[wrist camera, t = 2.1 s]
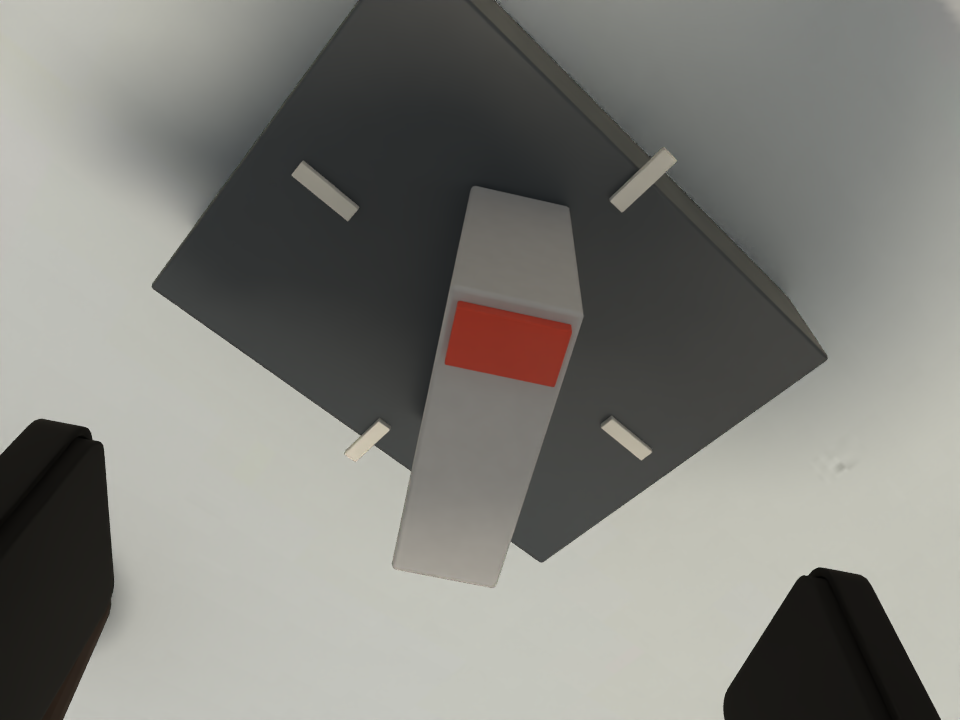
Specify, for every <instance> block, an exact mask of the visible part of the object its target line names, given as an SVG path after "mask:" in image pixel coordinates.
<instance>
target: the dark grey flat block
mask: <svg viewBox="0 0 960 720" xmlns="http://www.w3.org/2000/svg"><path fill="white" fill-rule="evenodd" d="M676 162H677V160H676V158H675V157H674V156H673V155H672V154H671V153H670V152H669V151H668V150H667V149H666V148H665V147H663V148H662V149H661V150H659V151H658V152H657V153H656V154H655V155H654V156H653V157H652V158H650V157H649V156H648V155H647V154H646V153H645V152H644V151H643V150H642V149H641V148H640V147H639V146H638V145H637V144H636V143H635V142H634V141H633V140H632V139H631V138H630V137H629V136H628V135H627V134H626V133H625V132H624V131H623V130H622V129H621V128H620V127H619V126H618V125H617V124H616V123H615V122H614V121H613V120H612V119H611V118H610V117H609V116H608V115H607V114H606V113H605V112H604V111H603V110H602V109H601V108H600V107H599V106H598V105H597V104H596V103H595V102H594V101H593V100H592V99H591V98H590V97H589V96H588V95H587V94H586V93H585V92H584V91H583V89H582V88H581V87H580V86H579V85H578V84H577V83H576V82H575V81H574V80H573V79H572V78H571V77H570V76H569V75H568V74H567V73H566V72H565V71H564V70H563V69H562V68H561V67H560V66H559V65H558V64H557V63H556V62H555V61H554V60H553V59H552V58H551V57H550V56H549V55H548V54H547V53H546V52H545V51H544V50H543V49H542V48H541V47H540V46H539V45H538V44H537V43H536V42H535V41H534V40H533V39H532V38H531V37H530V36H529V35H528V34H527V33H526V32H525V31H524V30H523V29H522V28H521V27H520V26H519V25H518V24H517V23H516V22H515V21H514V20H513V19H512V18H511V17H510V16H509V15H508V14H507V13H506V12H505V11H504V10H503V9H502V8H501V7H500V6H499V5H498V4H497V3H496V2H495V1H494V0H359V1H358V2H357V3H356V5H355V6H354V8H353V9H352V10H351V12H350V13H349V14H348V16H347V17H346V18H345V20H344V21H343V23H342V24H341V25H340V27H339V28H338V29H337V31H336V32H335V34H334V35H333V36H332V38H331V39H330V40H329V42H328V43H327V45H326V46H325V47H324V49H323V50H322V51H321V53H320V54H319V56H318V57H317V58H316V60H315V61H314V62H313V64H312V65H311V67H310V68H309V69H308V71H307V72H306V73H305V75H304V76H303V78H302V79H301V80H300V82H299V83H298V84H297V86H296V87H295V88H294V90H293V91H292V93H291V94H290V95H289V97H288V98H287V99H286V101H285V102H284V104H283V105H282V106H281V108H280V109H279V110H278V112H277V113H276V115H275V116H274V117H273V119H272V120H271V121H270V123H269V124H268V126H267V127H266V128H265V130H264V131H263V132H262V134H261V135H260V137H259V138H258V139H257V141H256V142H255V143H254V145H253V146H252V148H251V149H250V150H249V152H248V153H247V154H246V156H245V157H244V158H243V160H242V161H241V163H240V164H239V165H238V167H237V168H236V169H235V171H234V172H233V174H232V175H231V176H230V178H229V179H228V180H227V182H226V183H225V185H224V186H223V187H222V189H221V190H220V191H219V193H218V194H217V196H216V197H215V198H214V200H213V201H212V202H211V204H210V205H209V207H208V208H207V209H206V211H205V212H204V213H203V215H202V216H201V218H200V219H199V220H198V222H197V223H196V224H195V226H194V227H193V228H192V230H191V231H190V233H189V234H188V235H187V237H186V238H185V239H184V241H183V242H182V244H181V245H180V246H179V248H178V249H177V250H176V252H175V253H174V255H173V256H172V257H171V259H170V260H169V261H168V263H167V264H166V266H165V267H164V268H163V270H162V271H161V272H160V274H159V275H158V277H157V278H156V279H155V281H154V282H153V283H152V288H153V289H154V290H155V291H157V292H158V293H160V294H161V295H163V296H164V297H165V298H167V299H168V300H170V301H171V302H172V303H174V304H175V305H177V306H178V307H180V308H181V309H182V310H184V311H185V312H187V313H188V314H189V315H191V316H192V317H194V318H195V319H196V320H198V321H199V322H201V323H202V324H204V325H205V326H206V327H208V328H209V329H211V330H212V331H213V332H215V333H216V334H218V335H219V336H221V337H222V338H223V339H225V340H226V341H228V342H229V343H230V344H232V345H233V346H235V347H236V348H238V349H239V350H240V351H242V352H243V353H245V354H246V355H247V356H249V357H250V358H252V359H253V360H255V361H256V362H257V363H259V364H260V365H262V366H263V367H264V368H266V369H267V370H269V371H270V372H272V373H273V374H274V375H276V376H277V377H279V378H280V379H281V380H283V381H284V382H286V383H287V384H288V385H290V386H291V387H293V388H294V389H296V390H297V391H298V392H300V393H301V394H303V395H304V396H305V397H307V398H308V399H310V400H311V401H313V402H314V403H315V404H317V405H318V406H320V407H321V408H322V409H324V410H325V411H327V412H328V413H330V414H331V415H332V416H334V417H335V418H337V419H338V420H339V421H341V422H342V423H344V424H345V425H347V426H348V427H349V428H351V429H352V430H354V431H355V432H356V433H358V434H359V435H361V436H360V437H359V438H358V439H357V440H356V441H355V442H354V443H353V444H352V445H351V446H350V447H349V448H348V449H346V450H345V453H344V455H346V456H347V457H349V458H350V459H352V460H353V461H354V462H356V461H357V460H358V459H359V458H360V457H362V456H363V455H364V454H365V453H366V452H367V451H368V450H369V449H370V448H371V447H372V446H373V445H375V446H376V447H378V448H379V449H380V450H382V451H383V452H385V453H386V454H388V455H389V456H390V457H392V458H393V459H395V460H396V461H397V462H399V463H400V464H402V465H403V466H405V467H406V468H407V469H409V470H410V471H412V466H413V461H414V456H415V451H416V447H417V442H418V437H419V432H420V428H421V423H422V418H423V413H424V409H425V404H426V399H427V394H428V390H429V385H430V380H431V375H432V370H433V366H434V361H435V356H436V351H437V347H438V342H439V337H440V332H441V328H442V323H443V318H444V313H445V309H446V304H447V299H448V294H449V290H450V285H451V280H452V275H453V271H454V266H455V261H456V256H457V252H458V247H459V242H460V237H461V233H462V228H463V223H464V218H465V214H466V209H467V204H468V200H469V195H470V190H471V188H472V187H473V186H478V187H483V188H487V189H492V190H496V191H501V192H505V193H510V194H514V195H518V196H523V197H527V198H532V199H536V200H541V201H545V202H550V203H554V204H558V205H563V206H567V207H568V208H569V210H570V218H571V225H572V233H573V240H574V248H575V255H576V263H577V270H578V278H579V285H580V293H581V300H582V308H583V315H584V317H583V320H582V323H581V326H580V330H579V333H578V336H577V339H576V342H575V345H574V348H573V351H572V354H571V357H570V360H569V363H568V366H567V370H566V373H565V376H564V379H563V382H562V385H561V388H560V391H559V394H558V397H557V400H556V403H555V407H554V410H553V413H552V416H551V419H550V422H549V425H548V428H547V431H546V434H545V437H544V440H543V443H542V447H541V450H540V453H539V456H538V459H537V462H536V465H535V468H534V471H533V474H532V477H531V480H530V484H529V487H528V490H527V493H526V496H525V499H524V502H523V505H522V508H521V511H520V514H519V517H518V521H517V524H516V527H515V530H514V533H513V536H512V539H511V542H512V543H514V544H515V545H516V546H518V547H519V548H521V549H522V550H523V551H525V552H526V553H528V554H529V555H531V556H532V557H533V558H535V559H536V560H538V561H539V562H541V563H542V562H544V561H545V560H547V559H548V558H550V557H551V556H552V555H554V554H555V553H557V552H558V551H559V550H561V549H562V548H564V547H565V546H566V545H568V544H569V543H571V542H572V541H573V540H575V539H576V538H578V537H579V536H580V535H582V534H583V533H585V532H586V531H587V530H589V529H590V528H592V527H593V526H594V525H596V524H597V523H599V522H600V521H602V520H603V519H604V518H606V517H607V516H609V515H610V514H611V513H613V512H614V511H616V510H617V509H618V508H620V507H621V506H623V505H624V504H625V503H627V502H628V501H630V500H631V499H632V498H634V497H635V496H637V495H638V494H639V493H641V492H642V491H644V490H645V489H646V488H648V487H649V486H651V485H652V484H654V483H655V482H656V481H658V480H659V479H661V478H662V477H663V476H665V475H666V474H668V473H669V472H670V471H672V470H673V469H675V468H676V467H677V466H679V465H680V464H682V463H683V462H684V461H686V460H687V459H689V458H690V457H691V456H693V455H694V454H696V453H697V452H698V451H700V450H701V449H703V448H704V447H705V446H707V445H708V444H710V443H711V442H713V441H714V440H715V439H717V438H718V437H720V436H721V435H722V434H724V433H725V432H727V431H728V430H729V429H731V428H732V427H734V426H735V425H736V424H738V423H739V422H741V421H742V420H743V419H745V418H746V417H748V416H749V415H750V414H752V413H753V412H755V411H756V410H757V409H759V408H760V407H762V406H763V405H765V404H766V403H767V402H769V401H770V400H772V399H773V398H774V397H776V396H777V395H779V394H780V393H781V392H783V391H784V390H786V389H787V388H788V387H790V386H791V385H793V384H794V383H795V382H797V381H798V380H800V379H801V378H802V377H804V376H805V375H807V374H808V373H809V372H811V371H812V370H814V369H815V368H816V367H818V366H819V365H821V364H822V363H824V362H825V361H826V360H827V359H828V357H827V354H826V353H825V352H824V350H823V349H822V347H821V346H820V344H819V343H818V341H817V340H816V338H815V337H814V335H813V334H812V332H811V331H810V329H809V328H808V326H807V325H806V323H805V322H804V320H803V319H802V317H801V316H800V314H799V313H798V311H797V310H796V308H795V307H794V305H793V304H792V302H791V301H790V299H789V298H788V297H787V296H786V295H785V294H784V293H783V292H782V290H781V289H780V288H779V287H778V286H777V285H776V284H775V283H774V282H773V281H772V280H771V279H770V278H769V277H768V276H767V275H766V274H765V273H764V272H763V271H762V270H761V269H760V268H759V267H758V266H757V265H756V264H755V263H754V262H753V261H752V260H751V259H750V258H749V257H748V256H747V255H746V254H745V253H744V252H743V251H742V250H741V249H740V248H739V247H738V246H737V245H736V244H735V243H734V242H733V241H732V240H731V239H730V238H729V237H728V236H727V235H726V234H725V233H724V232H723V231H722V230H721V229H720V228H719V227H718V226H717V225H716V224H715V223H714V222H713V221H712V220H711V219H710V218H709V217H708V216H707V215H706V214H705V213H704V212H703V211H702V210H701V209H700V208H699V207H698V206H697V205H696V204H695V203H694V202H693V201H692V200H691V199H690V198H689V197H688V196H687V195H686V194H685V193H684V192H683V190H682V189H681V188H680V187H679V186H678V185H677V184H676V183H675V182H674V181H673V180H672V179H671V178H670V177H669V176H668V175H667V174H666V173H665V172H666V171H667V170H668V169H670V168H671V167H672V166H673V165H674V164H675V163H676Z"/></svg>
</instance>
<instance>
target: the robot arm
mask: <svg viewBox="0 0 960 720" xmlns="http://www.w3.org/2000/svg"><path fill="white" fill-rule="evenodd" d="M113 588H114V574H113V561H112V548H111V534H110V521H109V508H108V495H107V482H106V469H105V456H104V448H103V444H102V443H101V442H99V441H94V440H92V435H91V432H90V430H89V429H88V428H86V427H82V426H77V425H72V424H67V423H61V422H56V421H51V420H46V419H38V420H35V421H34V422H32V423H31V424H30V425H29V426H28V427H27V428H26V429H25V430H24V431H23V432H22V433H21V434H20V435H19V436H18V437H17V438H16V439H15V440H14V441H13V442H12V443H11V445H10V446H9V447H8V448H7V449H6V450H5V451H4V452H3V453H2V454H1V455H0V720H42V718H43V716H44V715H45V713H46V711H47V709H48V708H49V706H50V704H51V703H52V701H53V699H54V698H55V696H56V694H57V693H58V691H59V689H60V687H61V686H62V684H63V682H64V681H65V679H66V677H67V676H68V674H69V672H70V671H71V669H72V667H73V665H74V664H75V662H76V660H77V659H78V657H79V655H80V654H81V652H82V650H83V648H84V647H85V645H86V643H87V642H88V640H89V638H90V637H91V635H92V633H93V632H94V630H95V628H96V626H97V625H98V623H99V621H100V620H101V618H102V616H103V615H104V613H105V611H106V609H107V607H108V605H109V602H110V600H111V597H112V593H113ZM723 711H724V719H725V720H941V719H940V717H939V715H938V713H937V711H936V709H935V707H934V705H933V703H932V701H931V699H930V698H929V696H928V694H927V692H926V690H925V688H924V686H923V684H922V682H921V680H920V678H919V676H918V674H917V672H916V671H915V669H914V667H913V665H912V663H911V661H910V659H909V657H908V655H907V653H906V651H905V649H904V647H903V646H902V644H901V642H900V640H899V638H898V636H897V634H896V632H895V630H894V628H893V626H892V624H891V622H890V620H889V619H888V617H887V615H886V613H885V611H884V609H883V607H882V605H881V603H880V601H879V599H878V597H877V595H876V593H875V592H874V590H873V588H872V586H871V584H870V583H869V581H868V580H867V579H866V578H865V577H863V576H862V575H858V574H853V573H848V572H843V571H837V570H832V569H827V568H819V567H818V568H816V569H814V570H813V571H812V572H811V573H810V574H809V575H808V576H805V575H803V576H801V577H800V578H799V579H798V580H797V581H796V582H795V584H794V586H793V587H792V589H791V590H790V592H789V593H788V595H787V597H786V598H785V600H784V601H783V603H782V604H781V606H780V608H779V609H778V611H777V612H776V614H775V615H774V617H773V619H772V620H771V622H770V623H769V625H768V626H767V628H766V630H765V631H764V633H763V634H762V636H761V637H760V639H759V641H758V642H757V644H756V645H755V647H754V648H753V650H752V652H751V653H750V655H749V656H748V658H747V659H746V661H745V663H744V664H743V666H742V667H741V669H740V670H739V672H738V674H737V675H736V677H735V678H734V680H733V681H732V683H731V685H730V686H729V688H728V689H727V692H726V694H725V698H724V705H723Z"/></svg>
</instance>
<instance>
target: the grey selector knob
mask: <svg viewBox="0 0 960 720" xmlns="http://www.w3.org/2000/svg"><path fill="white" fill-rule="evenodd" d="M583 317H584V315H583V308H582V300H581V293H580V285H579V278H578V270H577V263H576V255H575V248H574V240H573V233H572V225H571V218H570V210H569V208H568V207H567V206H563V205H558V204H554V203H550V202H545V201H541V200H536V199H532V198H527V197H523V196H518V195H514V194H510V193H505V192H501V191H496V190H492V189H487V188H483V187H478V186H473V187H472V188H471V190H470V195H469V200H468V204H467V209H466V214H465V218H464V223H463V228H462V233H461V237H460V242H459V247H458V252H457V256H456V261H455V266H454V271H453V275H452V280H451V285H450V290H449V294H448V299H447V304H446V309H445V313H444V318H443V323H442V328H441V332H440V337H439V342H438V347H437V351H436V356H435V361H434V366H433V370H432V375H431V380H430V385H429V390H428V394H427V399H426V404H425V409H424V413H423V418H422V423H421V428H420V432H419V437H418V442H417V447H416V451H415V456H414V461H413V466H412V471H411V475H410V480H409V485H408V490H407V494H406V499H405V504H404V509H403V513H402V518H401V523H400V528H399V532H398V537H397V542H396V547H395V551H394V556H393V561H392V566H393V568H394V569H396V570H401V571H407V572H412V573H417V574H422V575H428V576H433V577H438V578H443V579H448V580H454V581H459V582H464V583H469V584H474V585H480V586H485V587H490V588H493V587H495V586H496V584H497V582H498V579H499V576H500V573H501V570H502V567H503V564H504V561H505V557H506V554H507V551H508V548H509V545H510V542H511V539H512V536H513V533H514V530H515V527H516V524H517V521H518V517H519V514H520V511H521V508H522V505H523V502H524V499H525V496H526V493H527V490H528V487H529V484H530V480H531V477H532V474H533V471H534V468H535V465H536V462H537V459H538V456H539V453H540V450H541V447H542V443H543V440H544V437H545V434H546V431H547V428H548V425H549V422H550V419H551V416H552V413H553V410H554V407H555V403H556V400H557V397H558V394H559V391H560V388H561V385H562V382H563V379H564V376H565V373H566V370H567V366H568V363H569V360H570V357H571V354H572V351H573V348H574V345H575V342H576V339H577V336H578V333H579V330H580V326H581V323H582V320H583Z"/></svg>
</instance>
